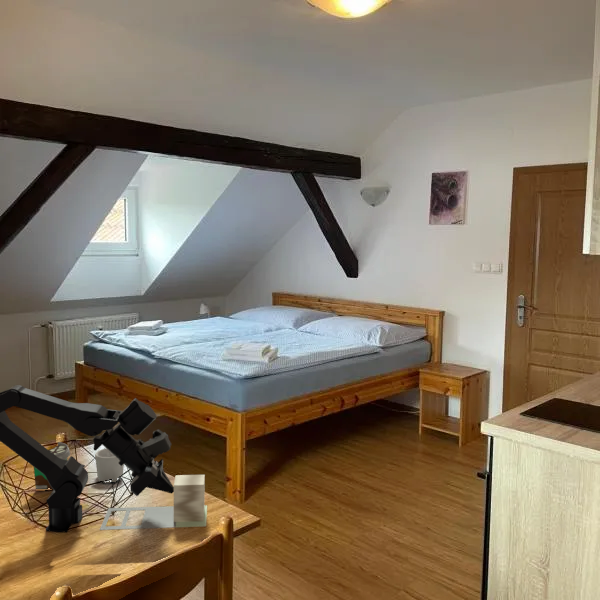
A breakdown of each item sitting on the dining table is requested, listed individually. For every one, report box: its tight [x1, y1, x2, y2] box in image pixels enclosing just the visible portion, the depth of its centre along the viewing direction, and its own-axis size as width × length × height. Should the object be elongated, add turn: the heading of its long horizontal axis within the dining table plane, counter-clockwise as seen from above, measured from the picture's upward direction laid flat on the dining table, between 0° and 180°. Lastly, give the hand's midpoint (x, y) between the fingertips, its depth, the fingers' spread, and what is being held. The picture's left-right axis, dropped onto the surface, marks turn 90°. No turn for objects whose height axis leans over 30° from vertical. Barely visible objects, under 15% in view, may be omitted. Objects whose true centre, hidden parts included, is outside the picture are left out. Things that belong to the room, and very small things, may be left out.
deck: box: [99, 504, 208, 531], centre depth 146 cm, size 24×11×2 cm, turn 97°
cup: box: [94, 447, 125, 484], centre depth 171 cm, size 11×8×8 cm
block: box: [173, 474, 206, 522], centre depth 146 cm, size 7×6×9 cm
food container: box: [33, 441, 71, 490], centre depth 165 cm, size 12×6×10 cm, turn 168°
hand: (173, 491), depth 145 cm, fingers closed, pressing on block
